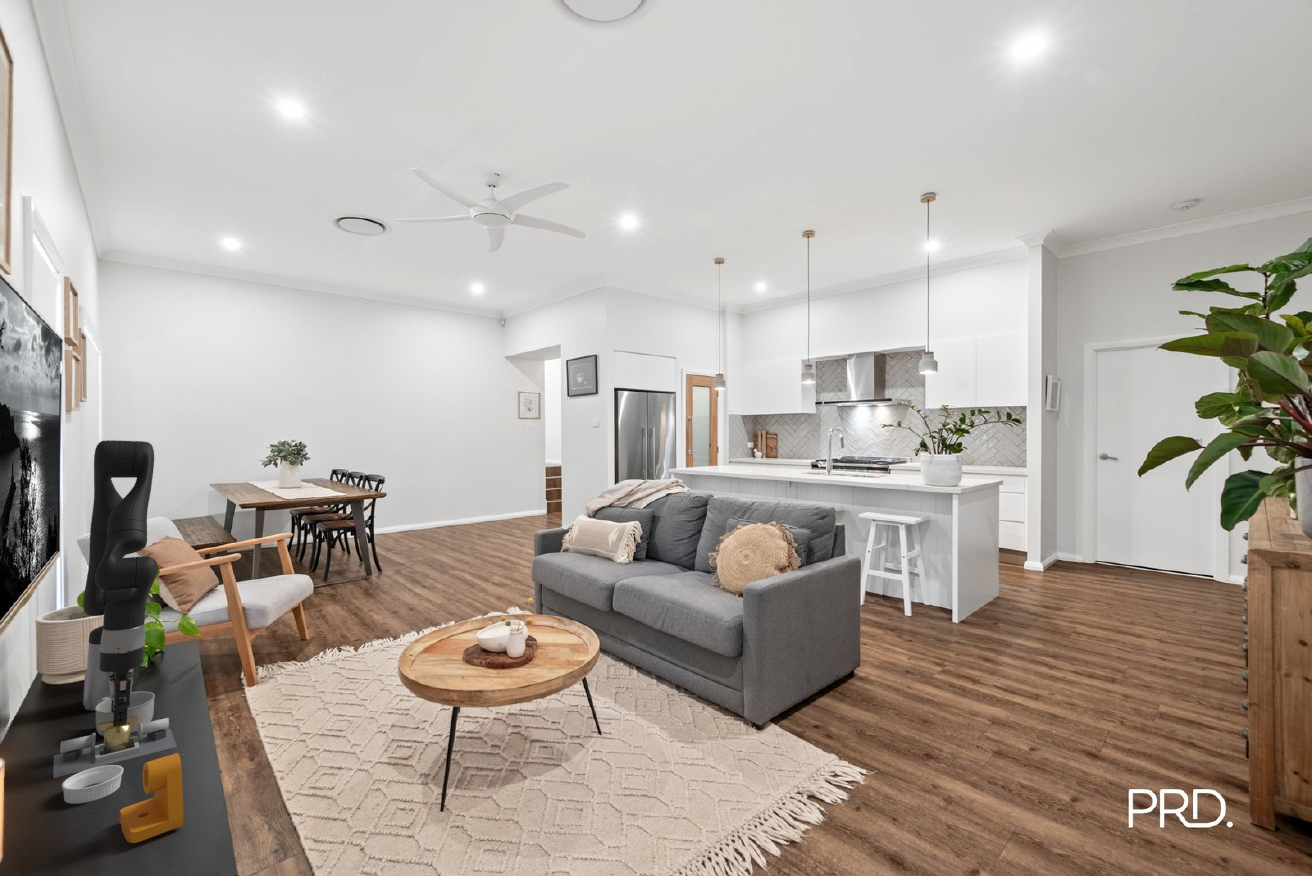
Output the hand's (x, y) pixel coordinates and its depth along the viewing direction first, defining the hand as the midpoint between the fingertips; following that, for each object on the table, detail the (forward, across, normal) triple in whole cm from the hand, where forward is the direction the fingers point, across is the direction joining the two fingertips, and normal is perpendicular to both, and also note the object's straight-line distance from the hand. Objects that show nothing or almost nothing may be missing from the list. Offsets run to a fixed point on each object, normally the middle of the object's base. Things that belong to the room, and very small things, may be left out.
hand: (118, 718), depth 134 cm
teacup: (+9, -14, +1) cm, 17 cm away
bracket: (+8, +37, +3) cm, 38 cm away
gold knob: (+7, 0, 0) cm, 7 cm away
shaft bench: (+8, 0, 0) cm, 8 cm away
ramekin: (+8, +18, -4) cm, 20 cm away
